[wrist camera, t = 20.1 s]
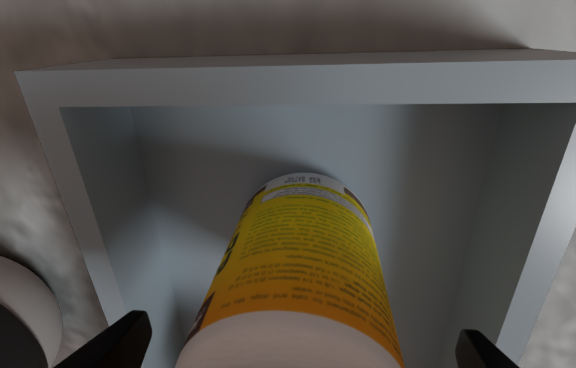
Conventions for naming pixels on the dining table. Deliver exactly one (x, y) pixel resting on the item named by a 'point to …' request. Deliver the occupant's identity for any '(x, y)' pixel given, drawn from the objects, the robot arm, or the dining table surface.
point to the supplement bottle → (297, 286)
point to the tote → (325, 161)
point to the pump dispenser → (27, 319)
